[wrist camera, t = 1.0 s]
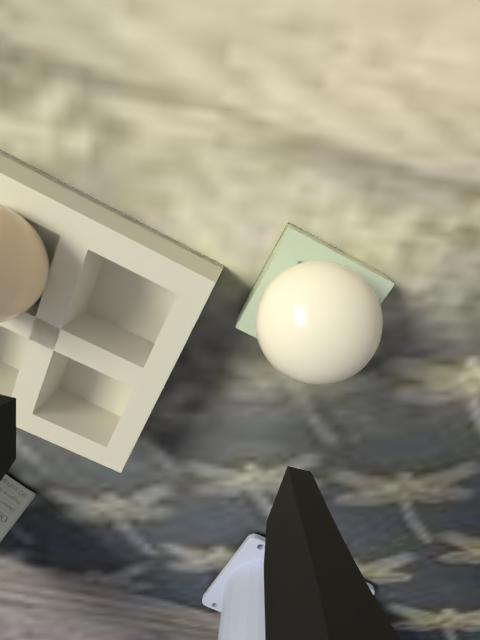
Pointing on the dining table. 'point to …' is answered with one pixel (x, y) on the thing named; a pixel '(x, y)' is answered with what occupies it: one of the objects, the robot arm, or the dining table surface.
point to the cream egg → (319, 322)
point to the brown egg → (20, 265)
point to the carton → (96, 318)
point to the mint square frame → (296, 250)
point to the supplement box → (12, 503)
